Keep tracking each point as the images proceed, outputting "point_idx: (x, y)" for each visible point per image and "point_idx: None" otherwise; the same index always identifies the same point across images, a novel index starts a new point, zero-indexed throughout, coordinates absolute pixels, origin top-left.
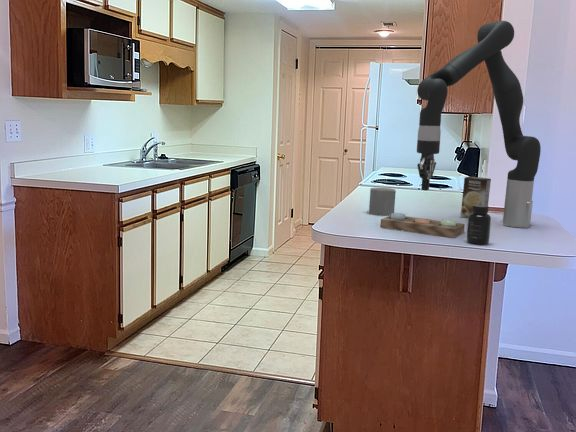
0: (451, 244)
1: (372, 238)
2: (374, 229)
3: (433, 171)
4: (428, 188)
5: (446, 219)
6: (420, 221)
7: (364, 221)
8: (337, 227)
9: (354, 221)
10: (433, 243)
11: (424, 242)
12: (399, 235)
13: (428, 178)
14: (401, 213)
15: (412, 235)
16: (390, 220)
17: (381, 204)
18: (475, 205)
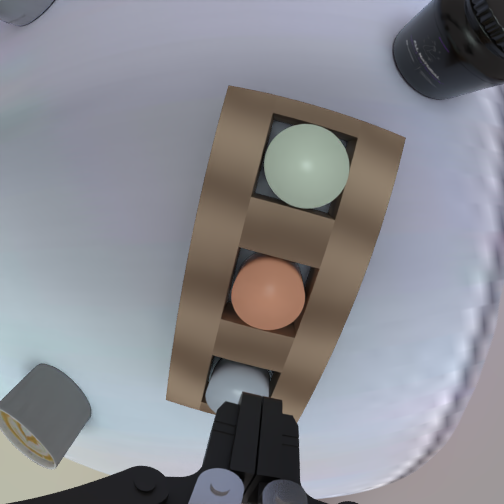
0: (489, 164)
1: (456, 392)
2: (330, 418)
3: (76, 497)
4: (258, 401)
5: (274, 177)
6: (303, 305)
7: (207, 444)
8: (333, 475)
9: None
10: (493, 225)
11: (487, 255)
12: (407, 343)
13: (290, 491)
14: (209, 390)
15: (396, 305)
16: (305, 406)
17: (71, 423)
18: None
